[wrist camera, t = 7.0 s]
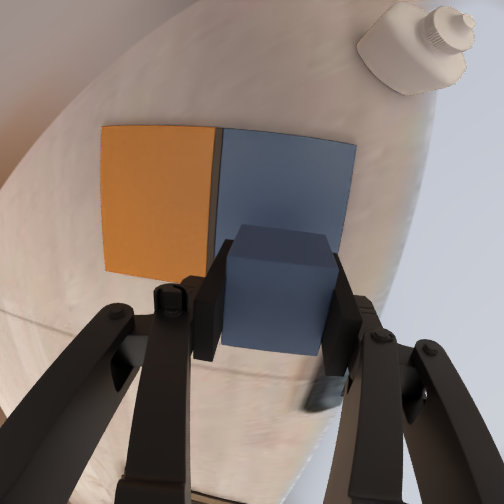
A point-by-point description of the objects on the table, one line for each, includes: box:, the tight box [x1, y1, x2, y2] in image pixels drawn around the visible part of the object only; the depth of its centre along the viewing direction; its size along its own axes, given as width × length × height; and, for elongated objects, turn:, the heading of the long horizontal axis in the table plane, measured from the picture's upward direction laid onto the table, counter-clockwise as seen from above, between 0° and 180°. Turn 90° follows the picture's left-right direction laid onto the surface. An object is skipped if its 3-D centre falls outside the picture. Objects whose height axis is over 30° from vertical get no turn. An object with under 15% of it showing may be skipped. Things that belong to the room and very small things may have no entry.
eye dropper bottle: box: [357, 2, 475, 96], centre depth 13 cm, size 4×6×12 cm
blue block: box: [221, 224, 339, 356], centre depth 15 cm, size 4×4×4 cm
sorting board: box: [101, 125, 356, 283], centre depth 24 cm, size 13×20×1 cm, turn 84°
